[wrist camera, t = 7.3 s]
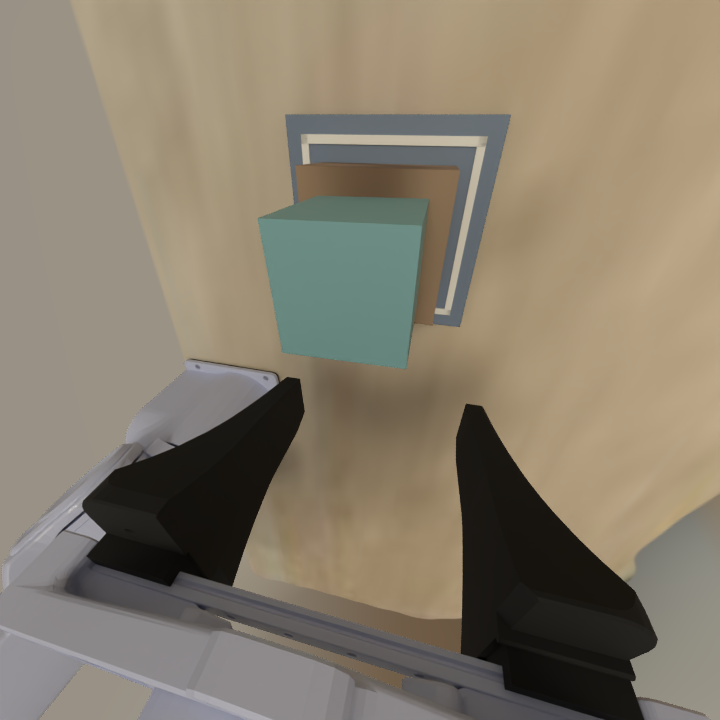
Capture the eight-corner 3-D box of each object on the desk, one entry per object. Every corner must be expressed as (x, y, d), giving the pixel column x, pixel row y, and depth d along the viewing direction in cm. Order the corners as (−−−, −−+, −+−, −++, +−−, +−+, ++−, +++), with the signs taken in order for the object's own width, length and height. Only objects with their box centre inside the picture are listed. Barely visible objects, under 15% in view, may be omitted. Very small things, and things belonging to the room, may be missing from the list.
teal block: (325, 298, 16) (282, 352, 12) (317, 195, 14) (257, 218, 9) (416, 306, 16) (406, 369, 11) (429, 198, 13) (421, 225, 8)
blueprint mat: (307, 305, 22) (304, 309, 22) (289, 115, 16) (284, 114, 15) (459, 322, 20) (459, 327, 20) (508, 115, 14) (511, 114, 13)
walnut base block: (329, 285, 20) (308, 310, 17) (324, 162, 16) (295, 165, 13) (434, 295, 19) (432, 325, 16) (456, 165, 15) (460, 170, 12)
